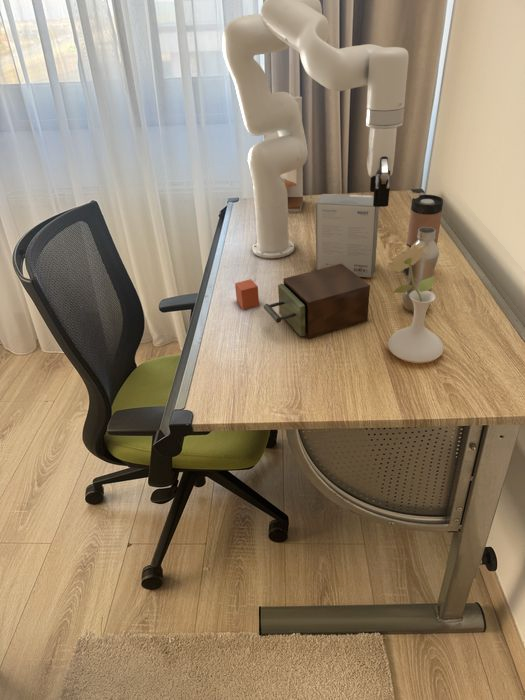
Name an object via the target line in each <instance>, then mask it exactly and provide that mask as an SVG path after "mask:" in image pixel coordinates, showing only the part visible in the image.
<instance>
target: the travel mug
mask: <svg viewBox="0 0 525 700" xmlns="http://www.w3.org/2000/svg"><path fill="white" fill-rule="evenodd" d="M443 205H444V199H443V197H441V196H438V195H434V194H420V195H419V196H417V197H415V198H414V197H412V199H411V205H410V211H409V212H410V214H409V221H408V229H407V237H406V246H409V247H410V248H411V246H412V245H413V244H414V243H415V242H416V241H417V240H418V239H417V235H418V229H419V228H421V227H431V228H434V229H435V230H436V233H435V239H434V242H435V243H436V244H437V245H438V242H439V241H438V240H439V235H440V229H441V228H440V226H441V220H442V213H443V207H444V206H443ZM404 273H405V274H406V276H409V267H408V268H405V269H404Z"/></svg>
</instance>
